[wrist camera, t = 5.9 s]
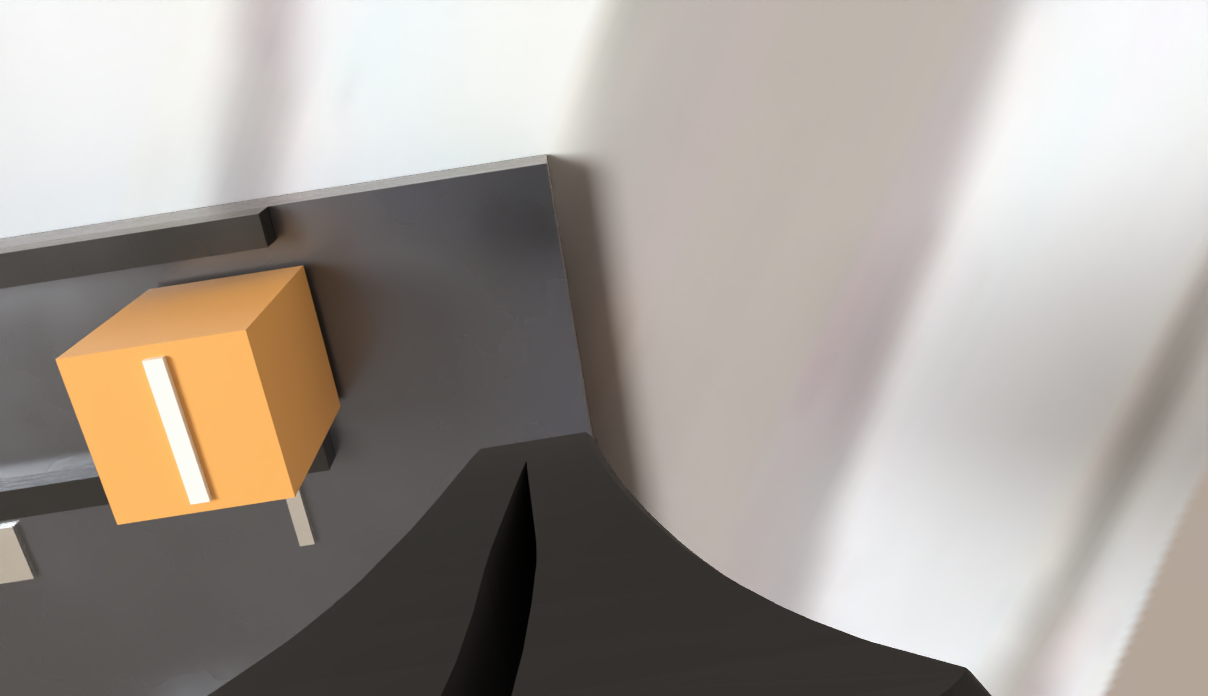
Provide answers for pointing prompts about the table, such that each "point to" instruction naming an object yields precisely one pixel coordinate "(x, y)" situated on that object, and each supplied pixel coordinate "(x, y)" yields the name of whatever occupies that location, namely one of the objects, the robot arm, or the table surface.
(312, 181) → the table surface
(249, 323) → the fader
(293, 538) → the console
